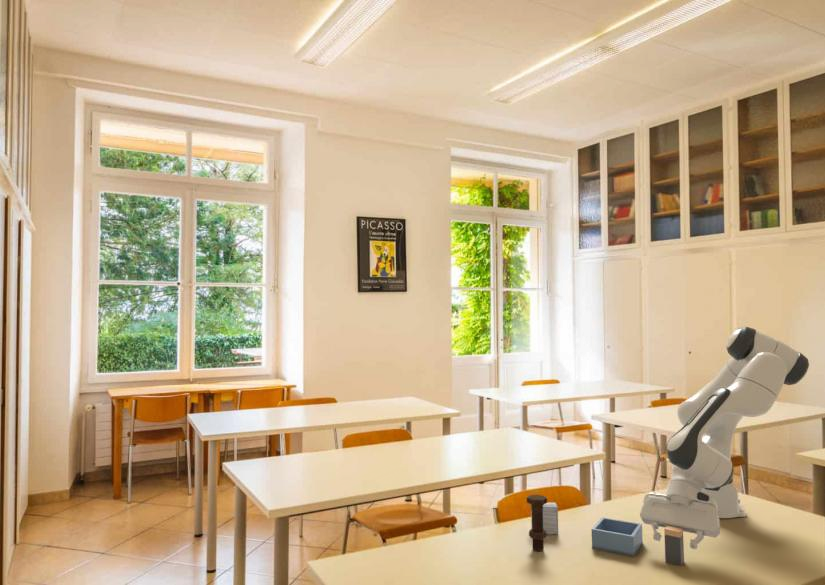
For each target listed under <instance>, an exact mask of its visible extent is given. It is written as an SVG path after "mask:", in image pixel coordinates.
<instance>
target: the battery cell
mask: <svg viewBox="0 0 825 585" xmlns="http://www.w3.org/2000/svg"><path fill="white" fill-rule="evenodd" d="M663 531H664V555H665V556H664V557H665V558H664V560H665V563H666V564H671V565H674V566H678V567H682V566H684V563H685V550H684V548H685V545H684V531H683V529H681V528H676V527H672V526H667V527H666V528H664V530H663Z"/></svg>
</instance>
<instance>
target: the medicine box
mask: <svg viewBox="0 0 825 585" xmlns="http://www.w3.org/2000/svg"><path fill="white" fill-rule="evenodd" d="M558 508H559V507H558V505H557V503H556V502H550V501H549V502H548V501H547V503H546V504H544V505H543V529H544V530H545V531H546V533H547V535H553V534H558V535H559V534H560V533H559V509H558ZM530 517H531V520H530V521H531V526H530V527H532V509H531V508H530Z"/></svg>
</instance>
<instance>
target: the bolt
mask: <svg viewBox="0 0 825 585" xmlns="http://www.w3.org/2000/svg"><path fill="white" fill-rule="evenodd" d="M547 502H548V498H547V497H546V496H545V495H542V494H529V495H527V497H526V503H528V504H530V510H531V509H532V526H531V528H530V529H529V531H528V536H529V537H530V538H531V540H532V549H533V550H534V551H536V552H542V551H544V549H545V548H544V545H545V544H544V543H545V541H544V540H545V539H546V537H547V536H548V534H547V533H546V531H545V530H544V529H543V505H544V504H546V503H547Z"/></svg>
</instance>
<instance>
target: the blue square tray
mask: <svg viewBox="0 0 825 585" xmlns="http://www.w3.org/2000/svg"><path fill="white" fill-rule="evenodd" d="M643 541H644V540H643V523H638V522H635V521H634V522H633V521H627V520H620V519H615V518H609V517H601V518H600V519H599V520H598V521H597V523H596V524H594V526H593V527H592V528H591V549H592V550H595V549H597V550H596V551H600V550H602V551H601V552H606V551H607V553H612V554H617V555H622V556H627V557H631V558H635V556H636V554H637V553H638V552H639V550H640V548H641V546H642V545H643Z"/></svg>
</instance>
